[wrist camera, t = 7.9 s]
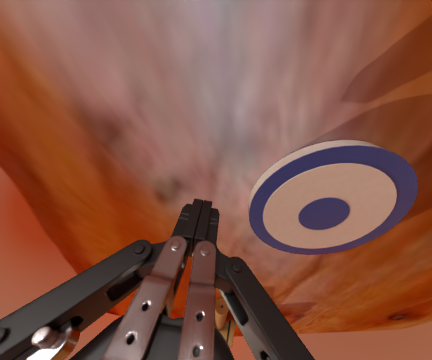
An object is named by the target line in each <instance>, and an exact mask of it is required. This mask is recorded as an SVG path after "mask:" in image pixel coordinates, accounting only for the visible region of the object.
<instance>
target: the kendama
mask: <svg viewBox="0 0 432 360" xmlns="http://www.w3.org/2000/svg"><path fill="white" fill-rule="evenodd" d="M228 311H229V308H228V306H227V304H226V302H225V300H224V298H223V297H221V298H218V299H217V300H216V302H215V328H216V329H217V330H218V331H219V332H220V333H221V334H222V336H223V337H224V338H225V340H226V342H227V344H228V346H229V347H232V344H233V337H234V330H235V321H232V320H230V321H229V322H227V323H226V322H225V321H226V318H227V314H228Z"/></svg>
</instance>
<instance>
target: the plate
mask: <svg viewBox="0 0 432 360" xmlns="http://www.w3.org/2000/svg"><path fill="white" fill-rule="evenodd" d="M417 192H418V179H417V176H416V173H415V171H414V169H413V168H412V166H411V165H410V164H409V163H408V162H407V161H406V160H405V159H403V158H402V157H400V156H399V155H397V154H395V153H393V152H391V151H389V150H387V149H385V148H383V147H381V146H378V145H376V144H373V143H369V142H365V141H357V140H335V141H328V142H322V143H318V144H314V145H310V146H308V147H305V148H302V149H299V150H297V151H295V152H293V153H291V154H289V155H287V156H285V157H284V158H282V159H280V160H279V161H277V162H276V163H275V164H274V165H272V166H271V167H270V168H269V169H268V170H267V171H266V172H264V173H263V175H262V176H261V177H260V178H259V179H258V181H257V182H256V184H255V185H254V187H253V189H252V191H251V194H250V197H249V201H248V211H249V221H250V224H251V227H252V229H253V231H254V233H255V234H256V235H257V236H258V237H259V238H260V239H261V240H262V241H263V242H265V243H266V244H268V245H269V246H271V247H273V248H276V249H278V250H281V251H285V252H289V253H295V254H306V255H317V254H328V253H334V252H339V251H344V250H347V249H351V248H354V247H357V246H360V245H362V244H365V243H367V242H369V241H371V240H373V239H375V238H377V237H379V236H381V235H382V234H384V233H386V232H387V231H388V230H390V229H391V228H393V227H394V226H395V225H396V224H397V223H398V222H400V221H401V220H402V219H403V217H404V216H405V215H406V214H407V213H408V211H409V210H410V208H411V207H412V205H413V203H414V201H415V199H416V196H417Z"/></svg>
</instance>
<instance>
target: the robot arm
mask: <svg viewBox="0 0 432 360" xmlns="http://www.w3.org/2000/svg"><path fill="white" fill-rule="evenodd" d="M211 207H212V202H211V201H206V200H204V202H203V200H200V199H194V202H193V205H191V204H186V205H185V206H184V207H183V209H182V211H181V214H180V216H179V219H178V221H177V224H176V226H175V229H174V231H173V234H172V236H171V237H170V238H169V239H168V240H167V241H165V242H162V243H157V244H150V242H149V241H147V240H138V241H135V242H134V243H132V244H130V245H128V246H127V247H125V248H123V249H121V250H120V251H118V252H116V253H115V254H113V255H111V256H109V257H108V258H106V259H104V260H102V261H101V262H99V263H97V264H96V265H94V266H92V267H90V268H89V269H87V270H85V271H83V272H82V273H80V274H78V275H77V276H75V277H73V278H71V279H70V280H68V281H67V282H64V283H63V284H61V285H59V286H58V287H56V288H54V289H52V290H51V291H49V292H47V293H45V294H44V295H42V296H40V297H39V298H37V299H35V300H33V301H32V302H30V303H28V304H26V305H25V306H23V307H21V308H20V309H18V310H16V311H14V312H13V313H11V314H9V315H8V316H6V317H4V318H2V319H1V320H0V360H64V359H65V358H66V357H67V356H68V355H69V354H70V353H71V352H72V351H73V349H74V348H75V346H76V344H77V342H78V340H79V336H80V332H82V331H83V330H84V329H85V328H87V327H88V326H89V325H91V324H92V323H93V322H95V321H96V320H97V319H98V318H100V317H101V316H102V315H104V314H105V313H106V312H108V311H109V310H110V309H111V308H113V307H114V306H115V305H117V304H118V303H119V302H120V301H122V300H123V299H124V298H126V297H127V296H128V295H129V294H131V293H132V292H133V291H135V290H136V289H137V288H138V290H137V292H136V294H135V296H134V298H133V300H132V302H131V303H130V305H129V307H128V309H127V311H126V313H125V315H123V316H121V317H119V318H118V319H116V320H115V321H113V322H112V323H111V324H110V325H109V326H107V327H106V328H105V329H104V330H103V331H102V332H101V333H99V335H97V336H96V337H95V338H94V339H93V340H91V341H90V342H89V343H88V344H87V345H86V346H84V347H83V348H82V349H81V350H80V351H79V352H77V353H76V354H75V355H74V356H73V357H72V358H71V359H69V360H234V358H233V355H232V353H231V351H230V348H229V346H228V344H227V342H226V340H225V338H224V337H223V336H222V334H221V333H220V332H219V331H218V330H217V329H216V328H215V299H216V288H218V289H219V290H220V293H221V294H222V296H223V298H224V300H225V302H226V304H227V306H228V308H229V310H230V312H231V313H232V315H233V317H234V319H235V321H236V323H237V325H238V327H239V329H240V330H241V332H242V334H243V336H244V338H245V340H246V342H247V344H248V345H249V348H250V349H251V351H252V353H253V355H254V357H255V359H256V360H315V359H314V358H313V356H312V355H311V354H310V352H309V351H308V349H307V348H306V347H305V345H304V344H303V342H302V341H301V340H300V338H299V337H298V336H297V334H296V333H295V331H294V330H293V329H292V327H291V326H290V324H289V323H288V322H287V320H286V319H285V317H284V316H283V315H282V313H281V312H280V310H279V309H278V308H277V306H276V305H275V303H274V302H273V301H272V299H271V298H270V296H269V295H268V294H267V292H266V291H265V290H264V288H263V287H262V285H261V284H260V283H259V281H258V280H257V278H256V277H255V276H254V274H253V273H252V271H251V270H250V269H249V267H248V266H247V264H246V263H245V262H244V261H243V260H242V259H241V258H239V257H231V258H229V257H227V256H225V255H224V254H222V253H221V252H220V251H219V250H218V248H217V245H216V240H217V232H218V223H219V215H220V214H219V212H218V209H214V208H211ZM192 253H193V256H192ZM188 256H190V257H193V263H192V269H191V276H190V282H189V287H188V293H187V300H186V306H185V312H184V318H177V319H171V318H170V315H171V312H172V309H173V305H174V300H175V297H176V294H177V291H178V288H179V285H180V282H181V279H182V276H183V273H184V270H185V266H186V263H187V260H188Z"/></svg>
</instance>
